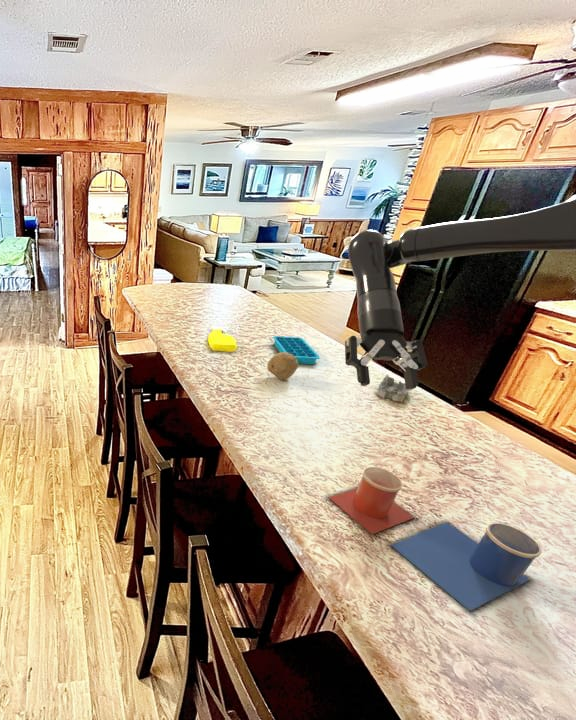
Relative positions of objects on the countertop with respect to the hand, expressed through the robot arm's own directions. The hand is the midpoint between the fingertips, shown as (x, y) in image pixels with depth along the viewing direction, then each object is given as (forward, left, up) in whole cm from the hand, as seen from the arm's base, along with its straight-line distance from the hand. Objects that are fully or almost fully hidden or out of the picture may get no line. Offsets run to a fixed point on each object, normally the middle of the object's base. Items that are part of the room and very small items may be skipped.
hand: (388, 386), depth 78 cm
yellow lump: (-22, -81, -25) cm, 87 cm away
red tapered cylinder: (+4, +7, -24) cm, 26 cm away
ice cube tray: (-41, -60, -25) cm, 76 cm away
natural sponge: (-20, -45, -25) cm, 55 cm away
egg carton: (-47, -24, -25) cm, 58 cm away
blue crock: (-3, +25, -24) cm, 35 cm away
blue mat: (+1, +22, -25) cm, 33 cm away
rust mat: (+4, +7, -25) cm, 26 cm away
